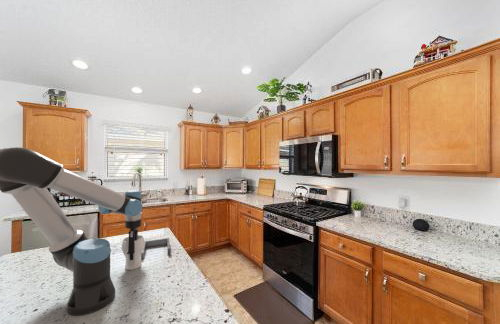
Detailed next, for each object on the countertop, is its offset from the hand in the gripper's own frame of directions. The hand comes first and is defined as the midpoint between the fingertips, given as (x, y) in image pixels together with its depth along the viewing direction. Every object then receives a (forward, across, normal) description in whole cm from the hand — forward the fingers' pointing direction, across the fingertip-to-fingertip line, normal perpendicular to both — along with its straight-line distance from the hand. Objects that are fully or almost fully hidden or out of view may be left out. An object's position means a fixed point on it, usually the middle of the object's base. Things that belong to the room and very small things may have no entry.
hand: (133, 260), depth 110 cm
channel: (+3, +16, -11) cm, 19 cm away
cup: (+3, 0, 0) cm, 3 cm away
